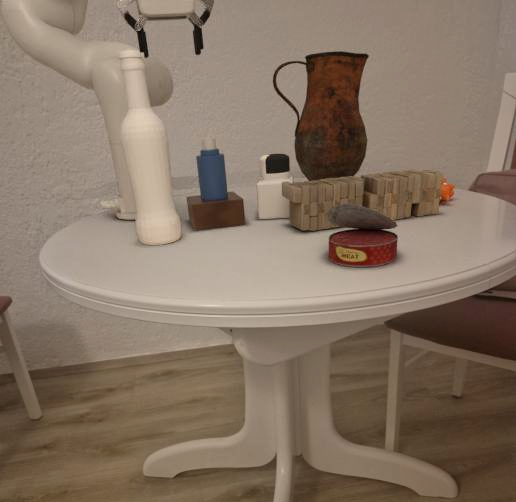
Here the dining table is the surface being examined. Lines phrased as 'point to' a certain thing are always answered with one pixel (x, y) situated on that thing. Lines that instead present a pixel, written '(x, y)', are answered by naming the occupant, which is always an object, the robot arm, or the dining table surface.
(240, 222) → the walnut block
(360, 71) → the pitcher
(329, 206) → the block tower
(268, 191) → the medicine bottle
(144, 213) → the bottle
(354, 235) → the canned food
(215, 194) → the blue bottle
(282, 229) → the dining table surface
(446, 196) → the orange toy bird
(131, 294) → the dining table surface
